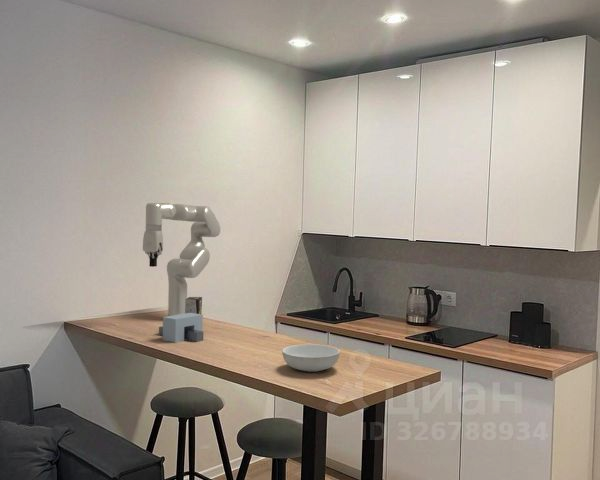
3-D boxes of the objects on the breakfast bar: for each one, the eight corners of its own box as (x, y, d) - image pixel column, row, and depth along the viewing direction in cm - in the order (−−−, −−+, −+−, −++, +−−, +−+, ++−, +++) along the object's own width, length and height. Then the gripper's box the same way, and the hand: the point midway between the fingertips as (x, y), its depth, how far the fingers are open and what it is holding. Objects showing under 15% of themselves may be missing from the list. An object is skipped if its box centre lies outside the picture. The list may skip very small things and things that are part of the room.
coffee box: (198, 334, 269) (198, 299, 268) (184, 334, 269) (184, 299, 268) (202, 330, 278) (202, 296, 277) (188, 330, 278) (189, 296, 277)
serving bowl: (294, 359, 227) (294, 341, 227) (346, 365, 220) (346, 347, 219) (272, 372, 208) (272, 352, 208) (328, 379, 200) (329, 359, 200)
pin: (154, 335, 265) (154, 325, 264) (167, 332, 271) (168, 322, 271) (193, 342, 251) (193, 332, 251) (206, 339, 258) (206, 329, 258)
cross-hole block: (162, 339, 255) (163, 317, 255) (189, 334, 268) (190, 312, 268) (175, 342, 251) (175, 319, 250) (202, 336, 264) (202, 314, 263)
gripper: (137, 228, 286) (136, 265, 286) (157, 229, 277) (157, 268, 278) (149, 228, 292) (149, 264, 293) (170, 229, 283) (169, 267, 284)
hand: (153, 266), depth 285 cm, fingers closed
